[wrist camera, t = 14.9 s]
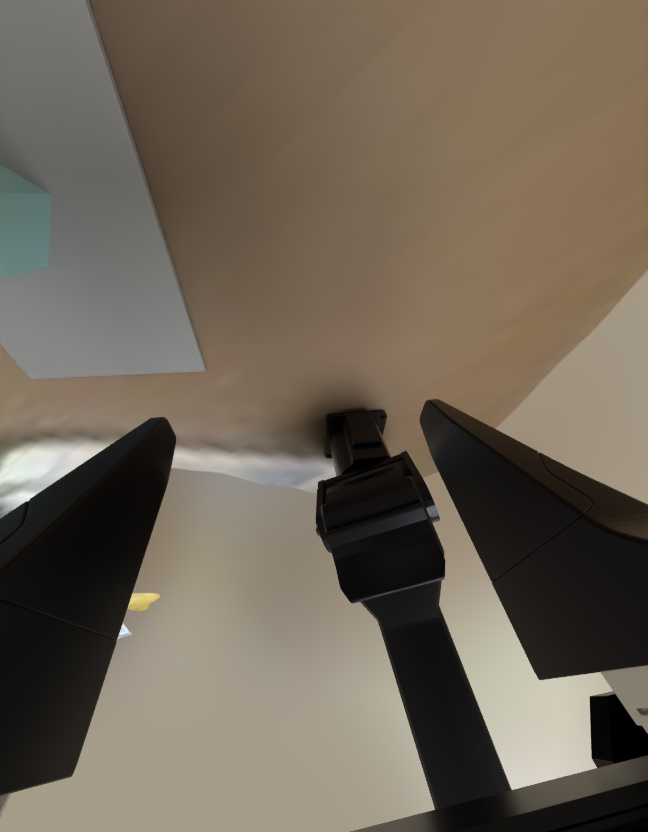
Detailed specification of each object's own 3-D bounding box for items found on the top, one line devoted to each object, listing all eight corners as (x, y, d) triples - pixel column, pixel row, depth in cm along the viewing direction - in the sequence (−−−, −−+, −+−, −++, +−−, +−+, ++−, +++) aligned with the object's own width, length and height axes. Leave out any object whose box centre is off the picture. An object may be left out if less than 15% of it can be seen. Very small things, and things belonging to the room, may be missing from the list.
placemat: (206, 368, 21) (205, 371, 21) (34, 376, 20) (30, 379, 19) (71, -54, 9) (64, -62, 9) (-375, -109, 8) (-402, -122, 8)
